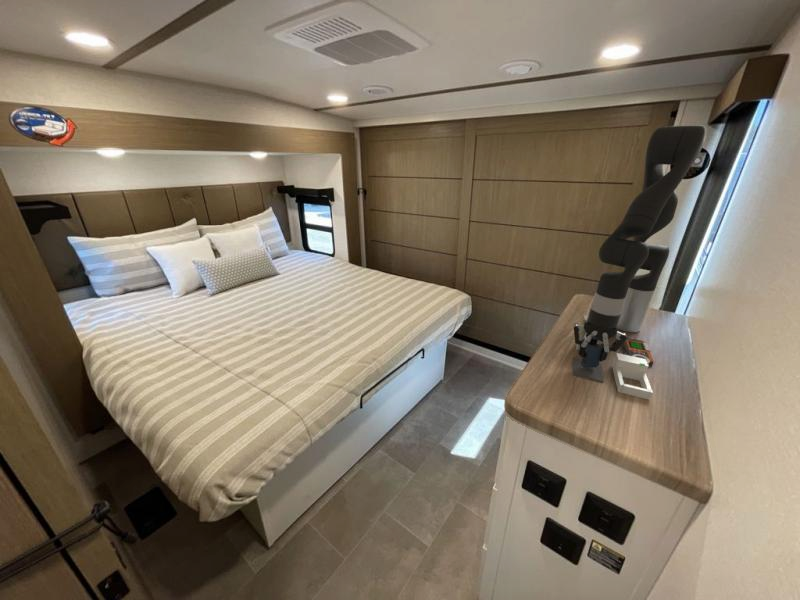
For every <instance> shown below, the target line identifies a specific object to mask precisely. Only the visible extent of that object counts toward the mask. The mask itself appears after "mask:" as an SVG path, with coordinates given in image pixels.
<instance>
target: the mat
mask: <svg viewBox="0 0 800 600" xmlns="http://www.w3.org/2000/svg"><path fill="white" fill-rule="evenodd" d="M581 362H582V358H579V357H574V356H573V357H572V370H573V374H572V375H573V376H575V377H579V378H584V379H588V380H590V381H591V380H592V381H596V382H600V383H604V382H605V379H604V374H603V369H602V362H601V363H599V365H598V366H597V367H593V368H585V367H583V366H582V365H581Z"/></svg>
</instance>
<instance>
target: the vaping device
mask: <svg viewBox="0 0 800 600" xmlns="http://www.w3.org/2000/svg"><path fill="white" fill-rule="evenodd" d="M596 335H597V334H596ZM596 335H595V336H594V337H592V336H591V338H592V339H591V340H590V342H588V344H587V345H586V349H585V353H584V356H583V357H581V359H582V362H581V365H582V366H583V367H585V368H593V367H597V366H598V365H599V363H600V362H601V361H600V357H601V354H602V350H603V348H604V344H603V341H600V342H597V341H598V338H599V337H597V336H596Z"/></svg>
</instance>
